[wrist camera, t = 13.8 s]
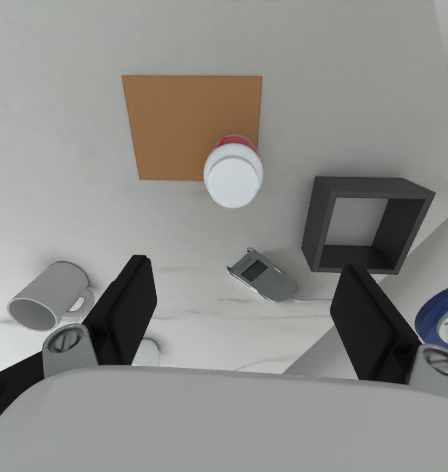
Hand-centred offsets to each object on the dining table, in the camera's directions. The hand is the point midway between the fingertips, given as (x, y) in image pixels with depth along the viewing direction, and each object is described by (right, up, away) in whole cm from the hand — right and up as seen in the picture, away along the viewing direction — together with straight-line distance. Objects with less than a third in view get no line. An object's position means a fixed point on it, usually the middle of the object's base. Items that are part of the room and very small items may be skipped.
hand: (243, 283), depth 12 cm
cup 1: (-28, -6, +32) cm, 42 cm away
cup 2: (-18, -22, +41) cm, 50 cm away
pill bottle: (0, +12, +19) cm, 23 cm away
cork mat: (-5, +15, +18) cm, 24 cm away
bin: (+17, +5, +23) cm, 29 cm away
